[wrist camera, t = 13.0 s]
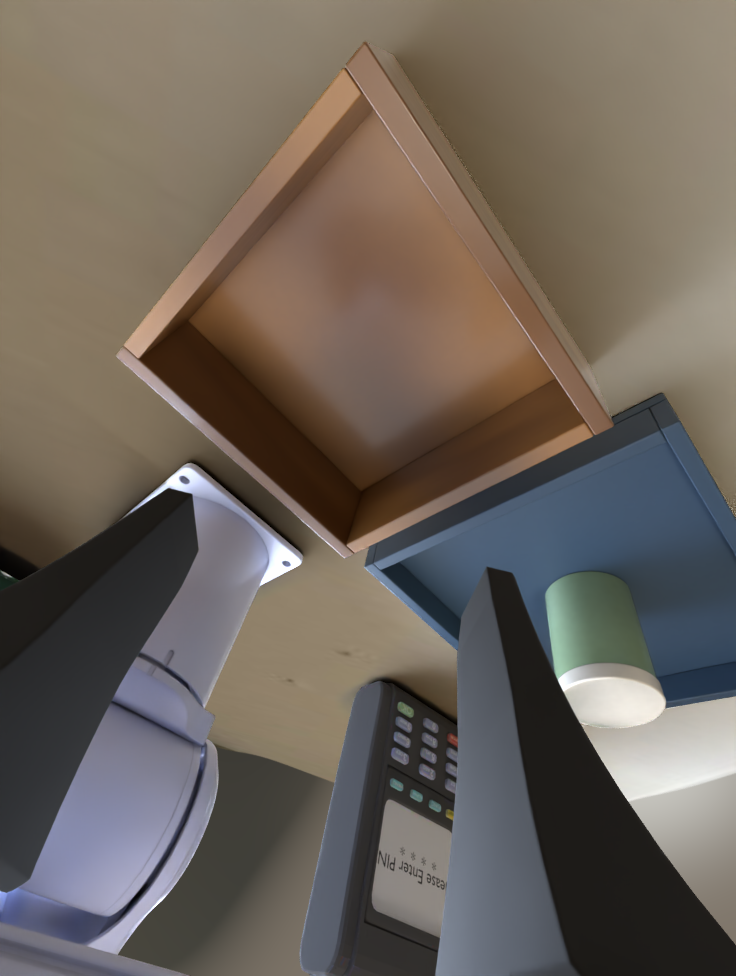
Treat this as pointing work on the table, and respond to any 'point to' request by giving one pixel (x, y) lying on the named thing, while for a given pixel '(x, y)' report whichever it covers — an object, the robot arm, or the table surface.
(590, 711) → the shaker
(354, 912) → the card reader
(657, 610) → the tray
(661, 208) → the table surface
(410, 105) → the open wooden box
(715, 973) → the robot arm
